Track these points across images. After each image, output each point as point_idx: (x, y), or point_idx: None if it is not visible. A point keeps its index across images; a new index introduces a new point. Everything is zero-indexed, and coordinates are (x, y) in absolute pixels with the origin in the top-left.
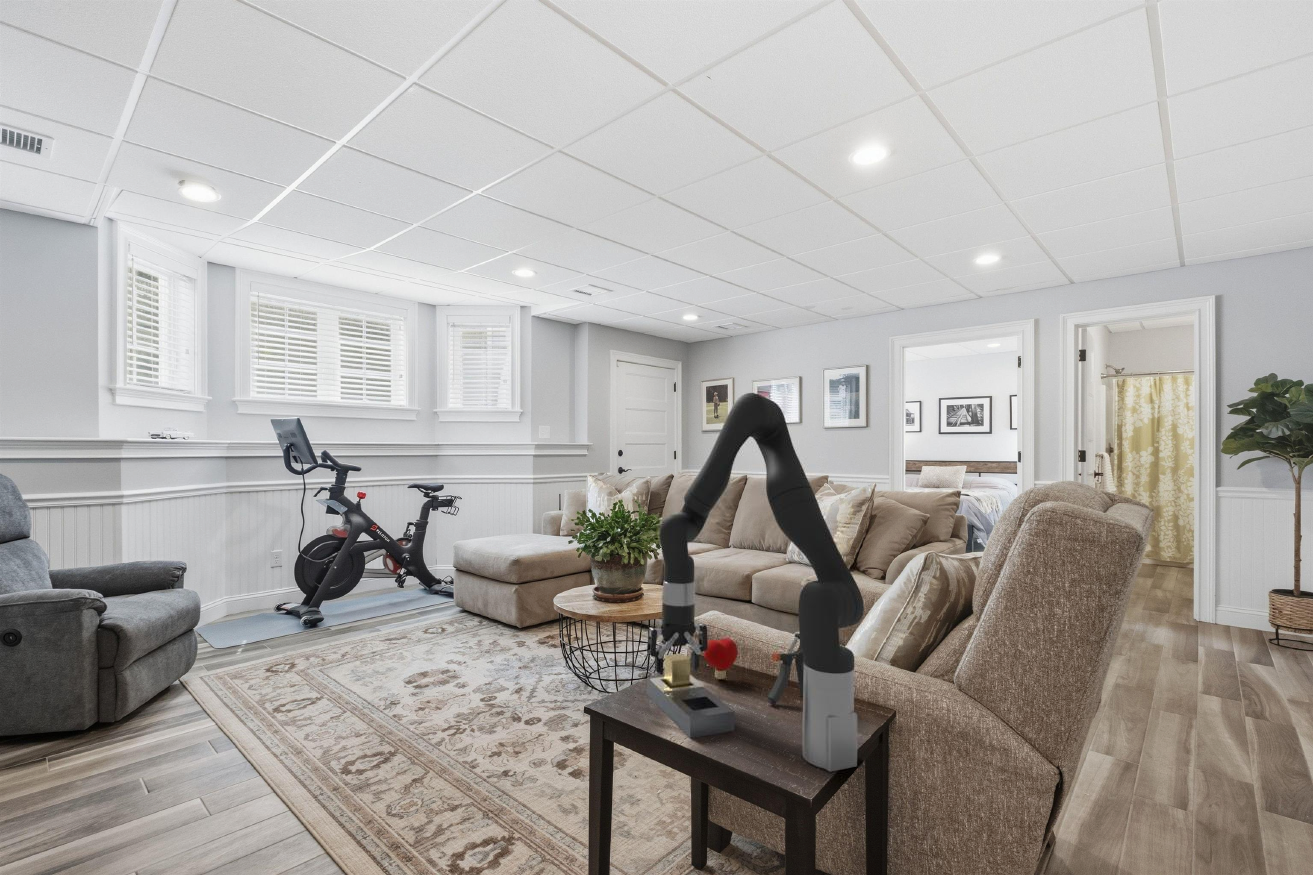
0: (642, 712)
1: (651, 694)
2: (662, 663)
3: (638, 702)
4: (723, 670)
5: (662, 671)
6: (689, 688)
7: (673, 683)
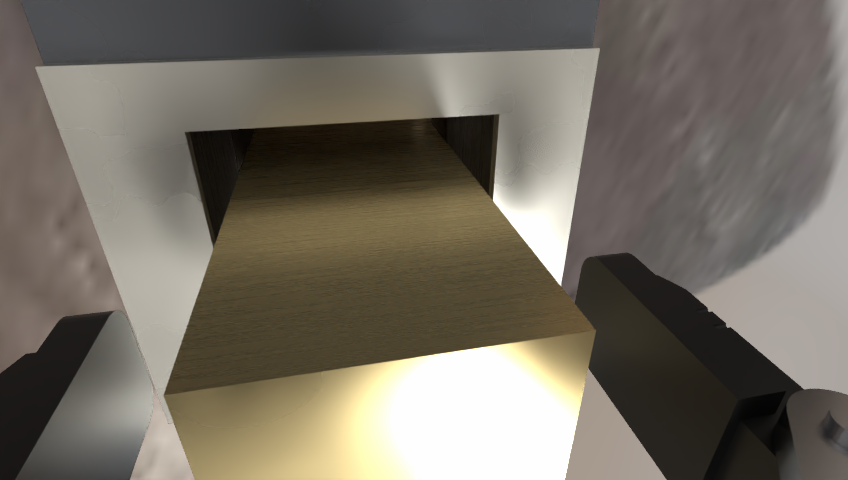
0: (658, 57)
1: None
2: (693, 337)
3: (595, 221)
4: None
5: (617, 271)
6: (277, 59)
7: (449, 169)
